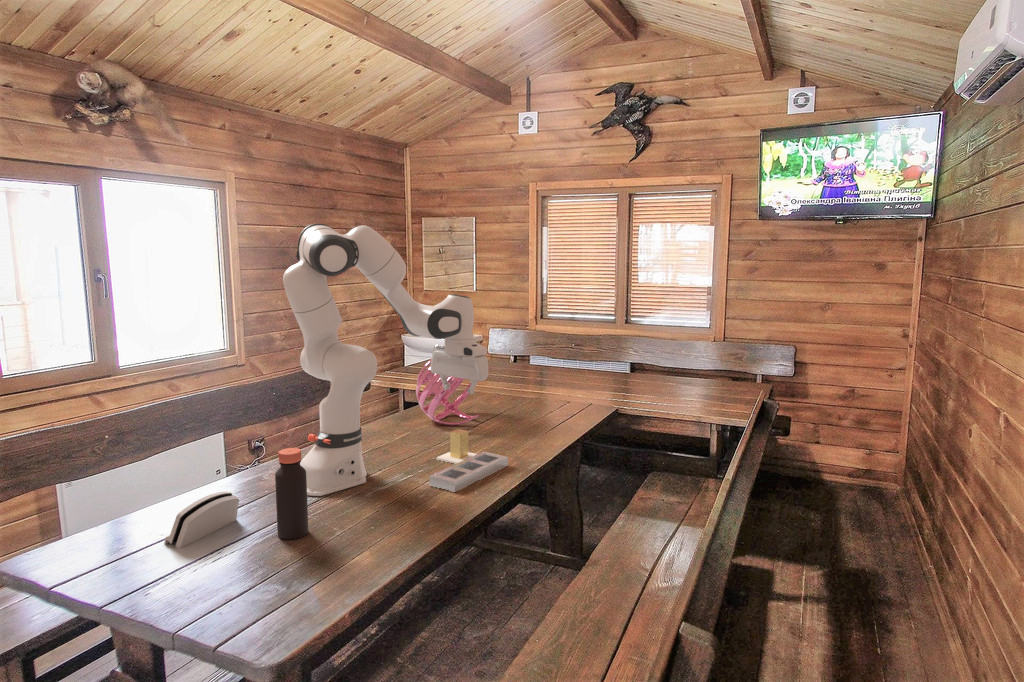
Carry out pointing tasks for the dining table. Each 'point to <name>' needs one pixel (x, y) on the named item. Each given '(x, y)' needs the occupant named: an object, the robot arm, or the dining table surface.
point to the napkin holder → (203, 518)
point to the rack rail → (468, 471)
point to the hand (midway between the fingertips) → (458, 391)
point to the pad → (447, 458)
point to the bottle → (291, 495)
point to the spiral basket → (440, 396)
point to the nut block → (458, 443)
